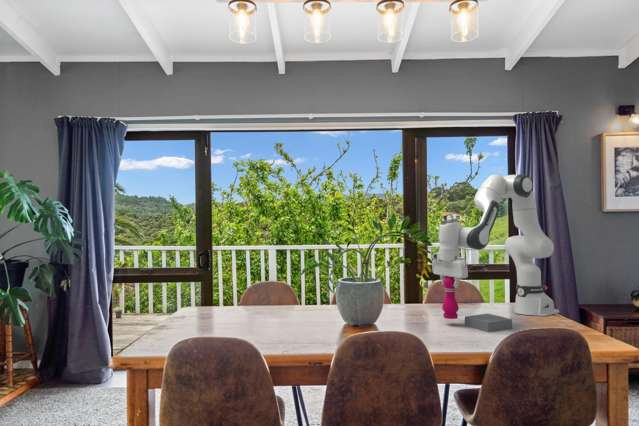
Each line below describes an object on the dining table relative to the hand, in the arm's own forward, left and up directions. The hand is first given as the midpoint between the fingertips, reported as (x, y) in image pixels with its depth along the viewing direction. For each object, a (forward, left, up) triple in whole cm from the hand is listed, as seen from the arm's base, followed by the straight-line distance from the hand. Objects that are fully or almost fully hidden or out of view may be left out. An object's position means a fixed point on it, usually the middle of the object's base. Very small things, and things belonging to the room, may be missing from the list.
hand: (450, 286), depth 215 cm
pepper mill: (0, 0, -15) cm, 15 cm away
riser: (-12, +11, -18) cm, 24 cm away
